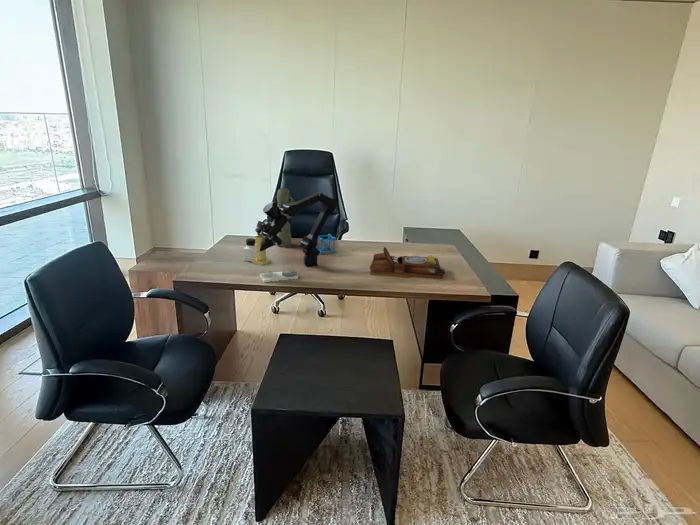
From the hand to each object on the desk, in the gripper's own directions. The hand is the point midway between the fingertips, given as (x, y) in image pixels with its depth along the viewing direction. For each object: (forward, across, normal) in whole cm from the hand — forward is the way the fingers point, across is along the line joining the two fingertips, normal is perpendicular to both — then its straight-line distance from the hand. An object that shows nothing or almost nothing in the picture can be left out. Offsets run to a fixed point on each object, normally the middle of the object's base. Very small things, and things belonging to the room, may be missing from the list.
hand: (257, 249), depth 203 cm
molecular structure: (-27, -16, +46) cm, 56 cm away
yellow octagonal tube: (+4, 0, +6) cm, 7 cm away
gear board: (+4, +8, +15) cm, 17 cm away
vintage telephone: (-40, +34, +60) cm, 80 cm away
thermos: (-17, -41, +36) cm, 57 cm away
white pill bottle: (+4, -24, +16) cm, 29 cm away
